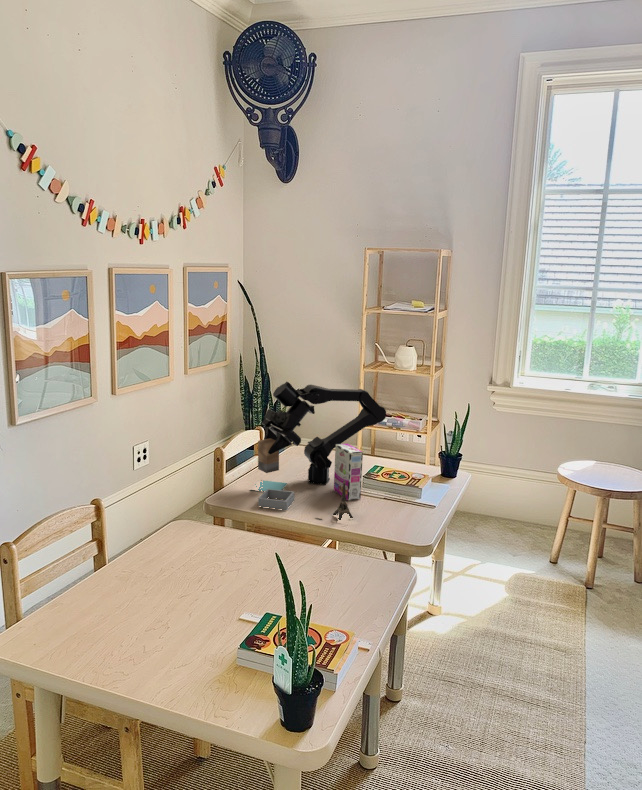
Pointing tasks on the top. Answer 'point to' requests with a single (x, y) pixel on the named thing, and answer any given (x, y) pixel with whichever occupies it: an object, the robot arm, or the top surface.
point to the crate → (276, 503)
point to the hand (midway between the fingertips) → (265, 451)
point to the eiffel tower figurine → (343, 505)
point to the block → (267, 456)
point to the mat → (271, 485)
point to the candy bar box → (348, 471)
